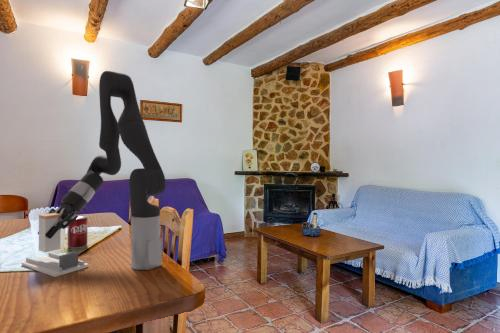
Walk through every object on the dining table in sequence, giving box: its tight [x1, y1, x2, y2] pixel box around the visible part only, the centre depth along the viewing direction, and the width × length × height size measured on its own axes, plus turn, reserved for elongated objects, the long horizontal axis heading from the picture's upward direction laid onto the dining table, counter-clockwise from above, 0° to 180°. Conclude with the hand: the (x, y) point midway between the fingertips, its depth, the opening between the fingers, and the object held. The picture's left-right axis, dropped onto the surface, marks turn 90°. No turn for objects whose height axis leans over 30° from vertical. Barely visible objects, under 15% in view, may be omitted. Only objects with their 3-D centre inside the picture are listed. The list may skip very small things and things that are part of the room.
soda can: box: [67, 215, 89, 249], centre depth 133 cm, size 7×7×12 cm
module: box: [38, 213, 62, 253], centre depth 110 cm, size 4×5×12 cm
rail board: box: [20, 251, 89, 278], centre depth 109 cm, size 20×11×5 cm, turn 60°
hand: (43, 236), depth 108 cm, fingers closed on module, 4 cm apart
